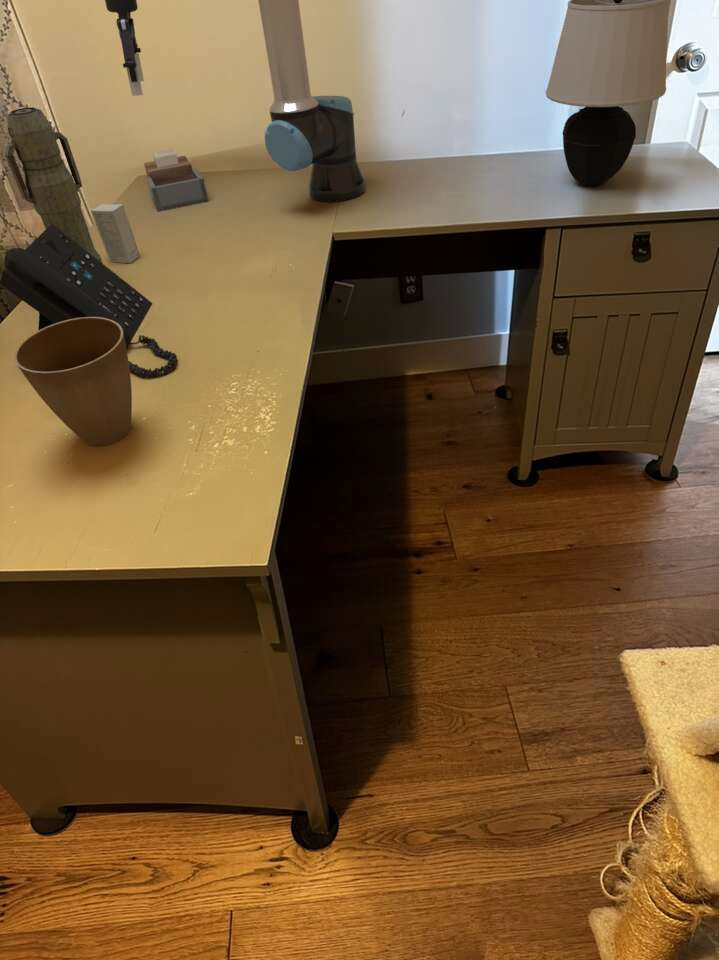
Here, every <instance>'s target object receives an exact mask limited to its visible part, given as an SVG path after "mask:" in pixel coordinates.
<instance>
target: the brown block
mask: <svg viewBox="0 0 719 960" xmlns="http://www.w3.org/2000/svg"><path fill="white" fill-rule="evenodd" d="M177 159H178V163H179V164H173V165H168V166H163V167H157V165H156V164H155V161H154V160H152V161H148V162H143V165H144V169H145V173H146V175H147V177H151V179H152V181H153V183H154V185H155V187H156V186H161V185H166V184H171V183H176V182H182V181H187V180H192V179H194V177H193V172H192V169H193V167H192V163H191V162H190V161H189V159H188V158H187V156H186V155H181V156H177ZM147 177H146V178H147Z"/></svg>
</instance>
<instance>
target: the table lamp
mask: <svg viewBox="0 0 719 960" xmlns="http://www.w3.org/2000/svg"><path fill="white" fill-rule="evenodd" d="M669 5H670V0H568V2H567V9H566V13H565V18H564V21H563V24H562V25H563V26H562V29H561V33H560V37H559V41H558V44H557V49H556V52H555V56H554V59H553V60H554V61H553V65H552V68H551V72H550V73H551V74H550V76H549V80H548V84H547V88H546V90H545V96H546V98H547V99H548V100H550V101H552V102H554V103H558V104H562V105H567V106H575V107H582V108H579V110H578V111H577V112H574V113H572V115H570V116H568V117H567V119H566V121H565V123H564V126H563V130H562V144H563V153H564V157H565V163H566V167H567V169H568V171H569V174H570V175H571V176H572V178H573V179H574V180H575V181H576V182H577V183H578V184H580V185H584V186H588V187H589V186H599V185H602V184H605V183H606V182H607V181H609V180H610V179H612V178H613V177H614V176H615V175H616V174H617V173H619V171H620V170H621V169H622V168H623V167H624V164H625V163H626V161H627V160H628V158H629V155H630V153H631V151H632V148H633V145H634V143H635V139H636V136H637V134H636V133H637V130H636V129H637V128H636V124H635V122H634V120H633V118H632V116H631V115H630V113H629V112H627V111H626V110H624V108H623V107H625V106H626V107H627V106H635V105H640V104H644V103H645V104H646V103H649V102H652V101H656V100H658V99H660V98H662V97H663V96H664V95H665V94H666V91H667V55H668V30H669V24H668V23H669ZM583 107H584V108H583Z"/></svg>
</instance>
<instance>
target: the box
mask: <svg viewBox="0 0 719 960" xmlns="http://www.w3.org/2000/svg"><path fill="white" fill-rule="evenodd" d="M192 172H193V177H194V179H192V180H187V181H182V182H176V183H171V184H166V185H161V186H156V187H155V185H154V183H153V181H152V179H151V177H146V183H147V185H148V188H149V193H150V197H151V200H152V202H153V205H154V206H156V207H155V209H156V210H157V212H158V211H159V212H163V211H162V210H164V211H168V210H167V209H169V210H172V209H171V208H173V209H177V208H176V207H178V208H182V207H181V206H183V207H188V206H192V204H193V205H197V203H198V204H202V203H201V202H203V203H207V202H206V201H208V202H209V198H208V194H207V189H206V185H205V180H204V177H203V176H202V175H201V173H200V171H198V169H197V168H196V167H195V168H192ZM187 205H188V206H187Z"/></svg>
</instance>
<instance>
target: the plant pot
mask: <svg viewBox="0 0 719 960" xmlns="http://www.w3.org/2000/svg"><path fill="white" fill-rule="evenodd" d="M128 356H129V355H128V349H126V343H125V338H124V334H123V329H122V327H121V326H120V325H119V324H118V323H117V322H115V321H113V320H110V319H107V318H102V317H82V318H74V319H69V320H65V321H61V322H58V323H55V324H52V325H50V326H47V327H45V328H43V329H41V330H39V331H38V330H37V331H36V332H34V333H32V334H31V335H29V336H28V337H26V338H25V339H24V340H23V341H21V343H20V344H19V345H18V347H17V348H16V350H15V351H14V355H13V359H14V362H15V364H16V366H17V367H18V368H19V370H20V371H21V373H22V374H23V376H24V378H25V379H26V380H27V381H28V383H29V384H30V385H31V387H32V388H33V389H34V391H35V392H36V394H37V395H38V396H39V397H40V398H41V400H42V401H43V402H44V403H45V404H46V406H47V407H48V408H50V410H51V411H52V412H53V413H54V414H55V415H56V416H57V418H58V419H59V420H60V421H61V422H62V423H63V424H64V425H65V426H66V427H68V428H69V429H70V431H72V432H73V434H75V435H76V436H77V437H78V438H79V439H81V440H82V441H84V443H86V444H87V445H89V446H94V447H102V446H104V447H105V446H108V445H112V444H114V443H117V442H118V441H119V442H120V441H121V440H122V439H123V438H125V437H126V436H127V435H128V434H129V432H130V431H131V425H132V415H133V414H132V412H133V411H132V409H133V405H132V404H133V403H132V402H133V400H132V399H133V398H132V397H133V396H132V394H133V393H132V391H133V390H132V378H131V377H132V376H131V371H130V368H129V362H130V361H129V357H128Z"/></svg>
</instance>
